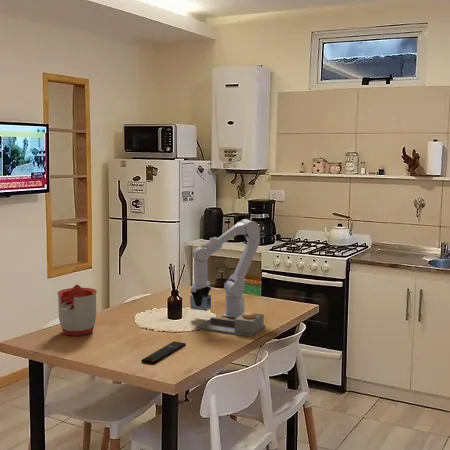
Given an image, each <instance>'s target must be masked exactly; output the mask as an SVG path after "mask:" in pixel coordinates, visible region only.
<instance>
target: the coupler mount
mask: <svg viewBox="0 0 450 450" xmlns="http://www.w3.org/2000/svg"><path fill="white" fill-rule="evenodd" d="M244 312H245V313H242V315H241V316H239V317H237V318H234V319H230V318H229V319H228V318H221V317H216V316H215V317H214V316H212V317H210V319H208V320H205V321H204V322H202V323H200V324H198V325H196V326H195V329H196V328H200V329H199V330H201V329H202V331H208V332H209V331H210V332H213V333H214V332H216V333H221V332H222V334H228V333H229V334H230V335H234V334H236V336H241V335H243V336H242V337H247V336H249V337H250V338H251V337H252V335H253V336H255V334H257V333H258V332H260V331H261V330H263V329H265V327H266V324H264V323H265V322H264V321H265V319H264V317H265V315H264V314H262V313H256V312H253V311H244ZM229 334H228V335H229ZM249 337H248V338H249Z"/></svg>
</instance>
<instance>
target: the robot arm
mask: <svg viewBox="0 0 450 450" xmlns="http://www.w3.org/2000/svg"><path fill="white" fill-rule="evenodd" d="M260 232H261V228H260V226H259V224H258V223H257V221H254V220H249V219H248V218H244V219H241V220H240V221H238V222H236V224H234V225H233V226H232V227H230V228H229V229H227V230H226V231H225V232H224V233H222V234H221V235H220V236H219V237H217V236H214V237H210V238H209V240H208V241H206V242H204V244H201V245H200V246H197V247H195V248H194V249H193V251H192V257H193V258H194V260H193V261H194V265H193V266H194V267H193V269H194V273H193V275H194V279H193V280H194V282H193V283H191V285H192V286H191V287H190V293H191V295H193V297H194V301H195V305H196V306H201V300H202V295H203V294H205V295H210V294H209V293H210V291H211V290H212V288H211V281H210V280H209V281H208V259H210V256H212V255H213V254H214V253H216V252H217V251H219V250H221V249H222V247H223V244H225V243H227V242H228V241H229V240H231V239H232V238H235V237H236V236H238V235H242V236H243V235H244V237H245V240H246V241H247V242H246V244H245V247H244V249H243V252H242V254H241V256H240V258H239V260H238V263H237V265H236V267H235V269H234V272H233V273H232V274H231V275H230V276H229V277H228V279H227V280H226V281H225V282H224V284H223V285H224V286H223V289H224V291H225V292H226V293H225V313H223V314H222V315H221V316H222V317H227V318H233V319H236V318H237V317H239V316H241V315H242V313H245V312H246V311H245V298H244V296H243V294H244V292H245V291H244V290H245V289H244V288H245V286H246V285H245V284H246V281H245V278H246V275H247V273H248V271H249V269H250V266H251V264H252V261H253V260H254V257H255V255H256V253H257V251H258V248H259V246H260V243H261V235H260Z"/></svg>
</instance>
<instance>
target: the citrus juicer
mask: <svg viewBox="0 0 450 450" xmlns="http://www.w3.org/2000/svg"><path fill="white" fill-rule="evenodd" d="M97 292H98V290H97V289H95V288H90V287H82V286H81V285H79V284H75V285H74V286H73V287H69V288H64V289H61V290H59V291H57V298H58V299H57V300H58V301H57V305H58V320H59V324H60V327H61V331H62V332H63V334H64V335H68V336H79V337H81V336H85V335H88V334H90V333H92V332H93V331H94V329H95V328H94V327H95V324H96V320H97Z"/></svg>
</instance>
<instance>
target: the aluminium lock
mask: <svg viewBox="0 0 450 450" xmlns="http://www.w3.org/2000/svg"><path fill="white" fill-rule="evenodd" d="M189 299H190V300H189V302H190V303H189V304H190V306H189V307H190V309H191V310H196V311H197V310H198V311H206V312H207V311H208V310H209V309H210V310H211V309H212V295H211V294H208V295H205V294H203V295H202V300H201V306H196V305H195V301H194V297H193V295H192V294H191V295H189Z"/></svg>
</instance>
